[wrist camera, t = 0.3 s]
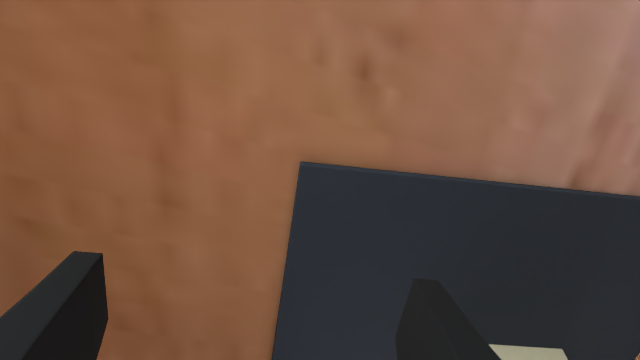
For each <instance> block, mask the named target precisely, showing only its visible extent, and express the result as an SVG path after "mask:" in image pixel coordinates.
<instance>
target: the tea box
mask: <svg viewBox="0 0 640 360" xmlns="http://www.w3.org/2000/svg"><path fill="white" fill-rule="evenodd" d="M489 346H490V347H491V348H492V349H493V350H494V352H495V353H496V354H497V355H498V356H499V357H500V359H501V360H568V359H567V357H566V355H565V353H564V351H563V350H562V349H555V348H540V347H525V346H509V345H494V344H489Z"/></svg>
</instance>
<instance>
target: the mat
mask: <svg viewBox="0 0 640 360" xmlns="http://www.w3.org/2000/svg"><path fill="white" fill-rule="evenodd" d="M413 278H419V279H432V280H438V281H439V282H440V283H441V284H442V286H443V287H444V288H445V290H446V291H447V292H448V294H449V295H450V296H451V297H452V299H453V300H454V301H455V303H456V304H457V305H458V307H459V308H460V309H461V310H462V312H463V313H464V314H465V316H466V317H467V318H468V320H469V321H470V322H471V323H472V325H473V326H474V327H475V328H476V330H477V331H478V332H479V333H480V335H481V336H482V337H483V338H484V340H485V341H486V342H487V343H488V344H494V345H509V346H525V347H540V348H555V349H562V350H563V351H564V353H565V355H566V357H567V359H568V360H635V358H636V357H637V355H638V354H639V352H640V197H638V196H628V195H618V194H609V193H599V192H589V191H580V190H570V189H560V188H551V187H541V186H531V185H522V184H512V183H503V182H493V181H483V180H474V179H464V178H454V177H445V176H435V175H425V174H416V173H406V172H396V171H387V170H377V169H367V168H358V167H348V166H339V165H329V164H319V163H310V162H300V169H299V176H298V183H297V190H296V197H295V203H294V210H293V217H292V224H291V231H290V238H289V244H288V251H287V258H286V265H285V272H284V279H283V285H282V292H281V299H280V306H279V313H278V320H277V326H276V333H275V340H274V347H273V354H272V360H397V353H396V343H395V335H396V332H397V329H398V326H399V323H400V319H401V316H402V313H403V310H404V307H405V304H406V300H407V297H408V294H409V291H410V288H411V284H412V281H413Z"/></svg>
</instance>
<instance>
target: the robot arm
mask: <svg viewBox="0 0 640 360" xmlns="http://www.w3.org/2000/svg"><path fill="white" fill-rule="evenodd" d="M107 321H108V309H107V298H106V287H105V276H104V265H103V253H90V252H77V251H74V252H73V253H71V254H70V255H69V256H68V257H67V258H66V259H65V260H63V261H62V262H61V263H60V264H59V265H58V266H57V267H56V268H55V269H54V270H53V271H52V272H51V273H50V274H48V275H47V276H46V277H45V278H44V279H43V280H42V281H41V282H40V283H39V284H38V285H36V286H35V287H34V288H33V289H32V290H31V291H30V292H29V293H28V294H27V295H25V296H24V297H23V298H22V299H21V300H20V301H19V302H17V303H16V304H15V305H14V306H13V307H12V308H10V309H9V310H8V311H7V312H6V313H5V314H4V315H2V316H1V317H0V360H96V359H97V356H98V352H99V349H100V346H101V343H102V339H103V336H104V332H105V328H106V325H107ZM395 343H396V353H397V360H501V359H500V357H499V356H498V355H497V354H496V353H495V352H494V350H493V349H492V348H491V347H490V346H489V344H488V343H487V342H486V341H485V340H484V338H483V337H482V336H481V335H480V333H479V332H478V331H477V330H476V328H475V327H474V326H473V325H472V323H471V322H470V321H469V320H468V318H467V317H466V316H465V314H464V313H463V312H462V310H461V309H460V308H459V307H458V305H457V304H456V303H455V301H454V300H453V299H452V297H451V296H450V295H449V294H448V292H447V291H446V290H445V288H444V287H443V286H442V284H441V283H440V282H439V281H438V280H432V279H419V278H413V281H412V284H411V288H410V291H409V294H408V297H407V300H406V304H405V307H404V310H403V313H402V316H401V319H400V323H399V326H398V329H397V332H396V335H395Z"/></svg>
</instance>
